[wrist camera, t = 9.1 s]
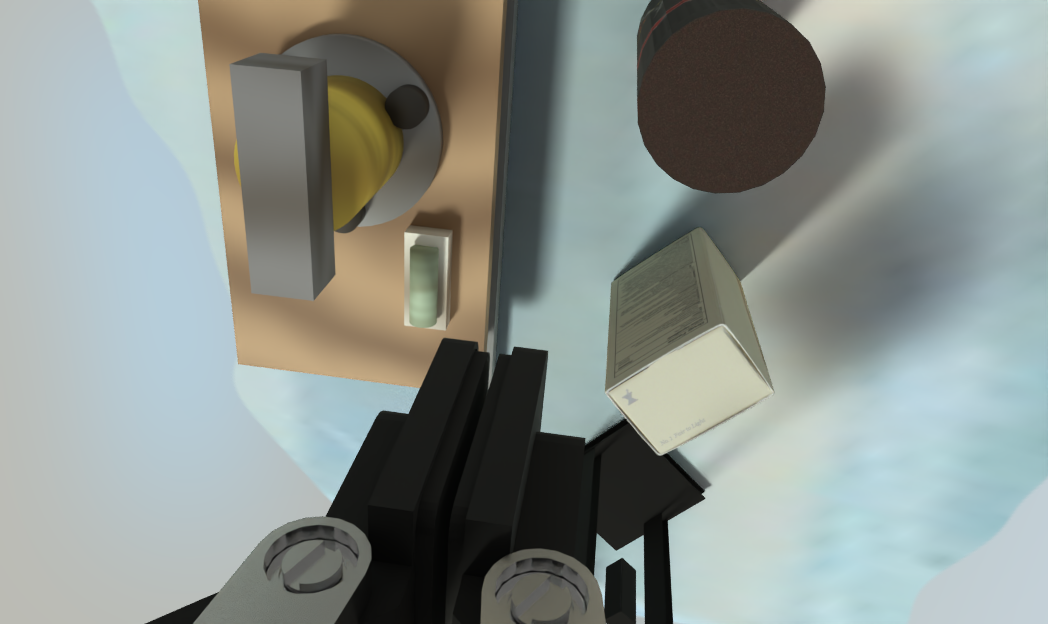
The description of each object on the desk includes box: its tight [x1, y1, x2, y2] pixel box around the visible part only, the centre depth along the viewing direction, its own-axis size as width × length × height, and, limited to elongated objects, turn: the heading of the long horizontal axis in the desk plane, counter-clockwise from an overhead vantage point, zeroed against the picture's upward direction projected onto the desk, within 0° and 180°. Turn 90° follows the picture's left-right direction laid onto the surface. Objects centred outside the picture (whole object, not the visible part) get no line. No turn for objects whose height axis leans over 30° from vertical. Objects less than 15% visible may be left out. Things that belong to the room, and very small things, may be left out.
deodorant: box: [637, 0, 826, 193], centre depth 32 cm, size 6×6×15 cm
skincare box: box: [605, 227, 774, 455], centre depth 39 cm, size 6×4×12 cm
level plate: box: [198, 0, 507, 388], centre depth 36 cm, size 22×14×10 cm, turn 176°
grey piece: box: [487, 0, 518, 389], centre depth 41 cm, size 26×14×5 cm, turn 176°
